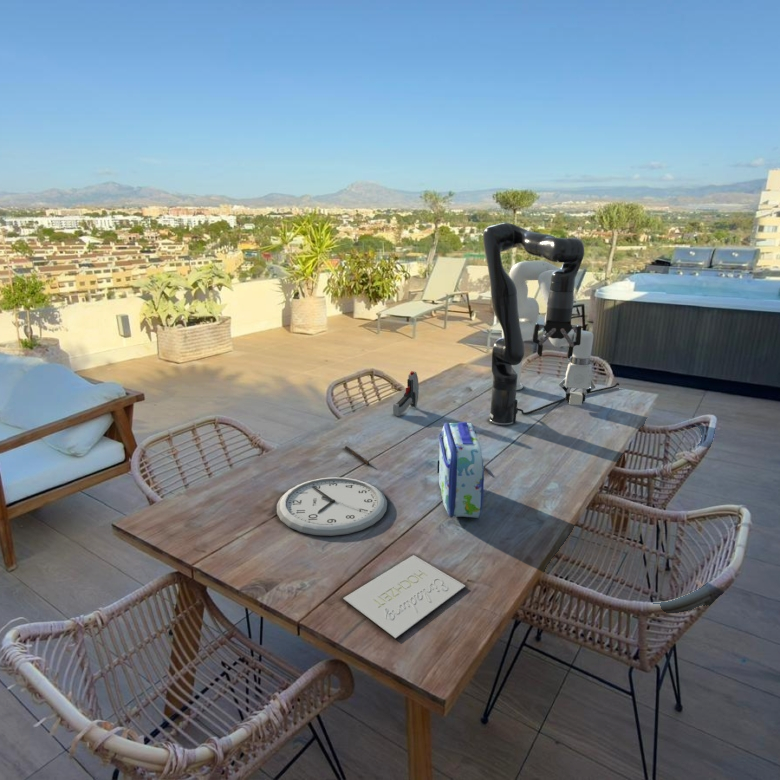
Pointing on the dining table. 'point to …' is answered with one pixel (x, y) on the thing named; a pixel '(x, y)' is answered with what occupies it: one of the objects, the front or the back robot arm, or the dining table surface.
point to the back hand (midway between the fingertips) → (574, 401)
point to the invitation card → (404, 595)
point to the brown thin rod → (357, 455)
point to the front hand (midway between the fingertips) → (554, 357)
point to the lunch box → (461, 470)
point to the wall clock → (331, 506)
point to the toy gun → (408, 395)
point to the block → (575, 398)
